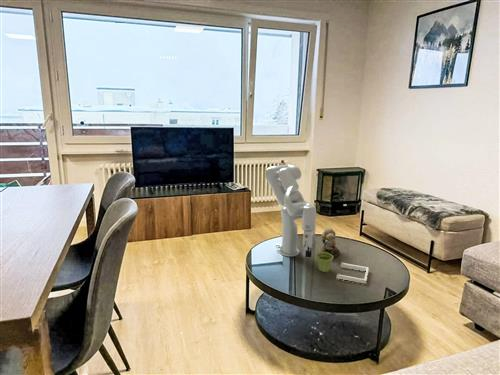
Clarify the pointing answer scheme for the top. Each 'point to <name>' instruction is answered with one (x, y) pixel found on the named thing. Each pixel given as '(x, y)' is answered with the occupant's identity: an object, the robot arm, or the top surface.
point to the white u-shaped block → (354, 267)
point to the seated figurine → (329, 243)
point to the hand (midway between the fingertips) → (308, 256)
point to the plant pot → (324, 261)
